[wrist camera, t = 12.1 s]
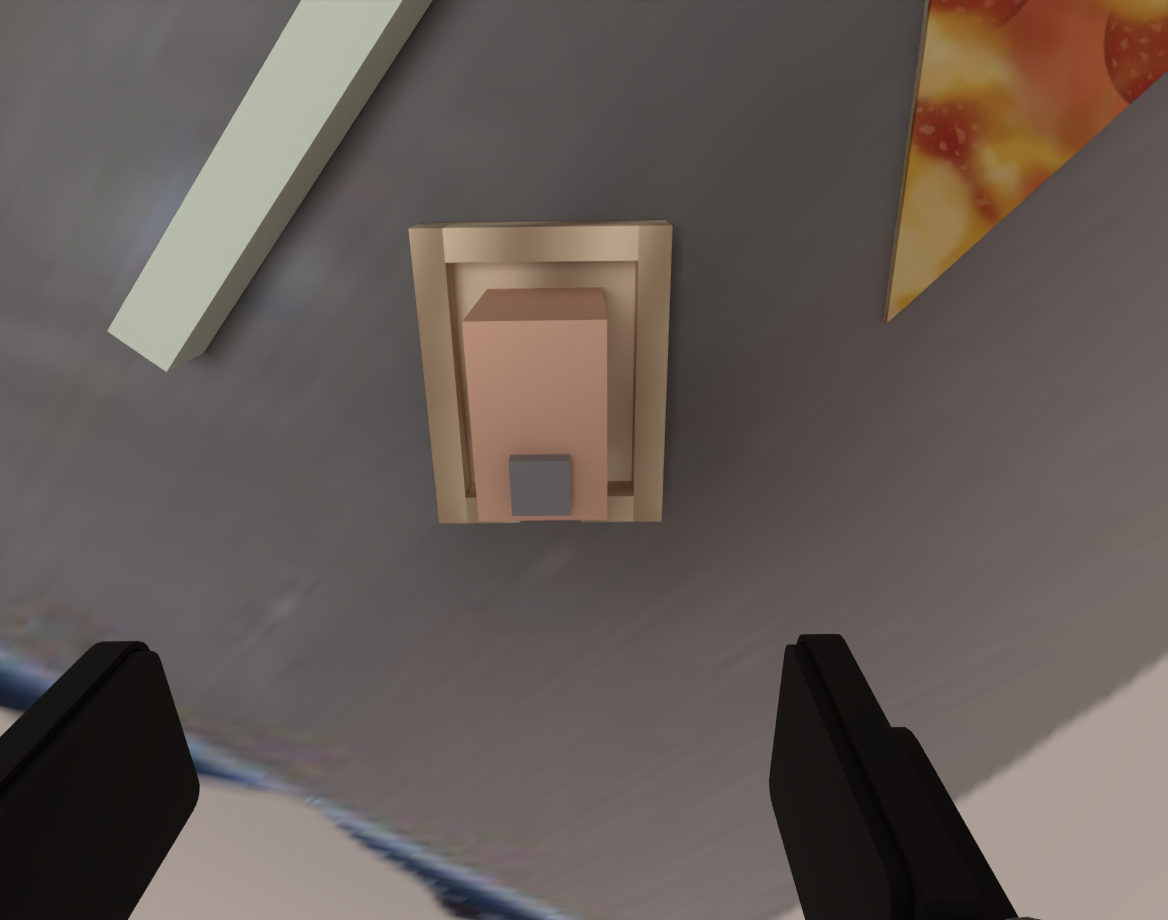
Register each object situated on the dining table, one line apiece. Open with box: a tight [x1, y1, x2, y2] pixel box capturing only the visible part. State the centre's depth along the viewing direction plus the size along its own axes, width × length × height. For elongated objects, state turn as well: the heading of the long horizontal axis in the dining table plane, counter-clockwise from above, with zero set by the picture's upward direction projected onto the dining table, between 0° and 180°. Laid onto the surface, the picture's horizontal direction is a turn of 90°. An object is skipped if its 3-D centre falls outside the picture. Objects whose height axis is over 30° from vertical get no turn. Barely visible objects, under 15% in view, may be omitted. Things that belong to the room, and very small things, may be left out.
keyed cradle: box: [409, 220, 673, 523], centre depth 28 cm, size 9×12×2 cm
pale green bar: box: [108, 0, 433, 372], centre depth 24 cm, size 22×2×3 cm, turn 140°
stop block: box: [462, 287, 607, 521], centre depth 26 cm, size 4×7×7 cm, turn 1°
